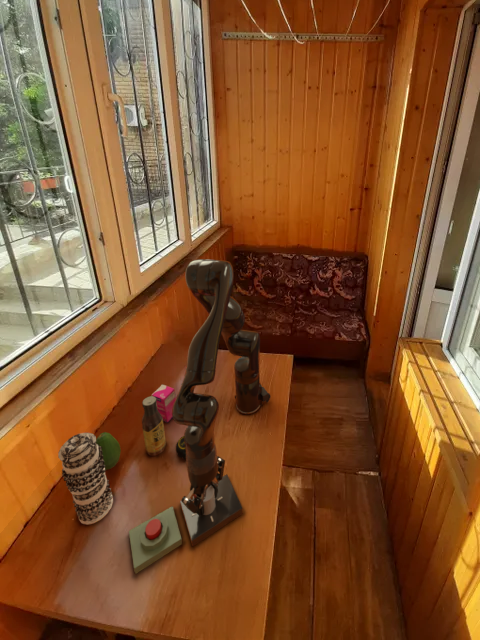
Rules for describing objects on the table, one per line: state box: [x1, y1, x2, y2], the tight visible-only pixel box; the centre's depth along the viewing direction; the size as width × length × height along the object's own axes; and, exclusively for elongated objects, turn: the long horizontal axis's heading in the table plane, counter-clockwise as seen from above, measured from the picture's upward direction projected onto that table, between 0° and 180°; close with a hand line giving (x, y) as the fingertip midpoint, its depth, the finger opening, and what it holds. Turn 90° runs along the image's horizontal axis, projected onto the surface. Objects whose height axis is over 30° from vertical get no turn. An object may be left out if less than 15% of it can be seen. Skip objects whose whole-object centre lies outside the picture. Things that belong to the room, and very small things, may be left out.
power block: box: [128, 505, 183, 575], centre depth 79 cm, size 11×9×4 cm
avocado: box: [96, 431, 122, 471], centre depth 96 cm, size 8×8×12 cm
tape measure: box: [175, 435, 186, 461], centre depth 103 cm, size 7×7×4 cm
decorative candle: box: [57, 432, 114, 525], centre depth 83 cm, size 9×9×25 cm
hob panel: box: [179, 473, 244, 548], centre depth 86 cm, size 14×11×3 cm
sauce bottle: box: [141, 395, 167, 457], centre depth 101 cm, size 6×6×20 cm
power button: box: [145, 519, 162, 540], centre depth 78 cm, size 4×4×2 cm
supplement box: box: [151, 384, 177, 424], centre depth 115 cm, size 6×6×12 cm
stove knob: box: [203, 486, 216, 515], centre depth 84 cm, size 4×4×6 cm
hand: (207, 503), depth 85 cm, fingers closed on stove knob, 4 cm apart
